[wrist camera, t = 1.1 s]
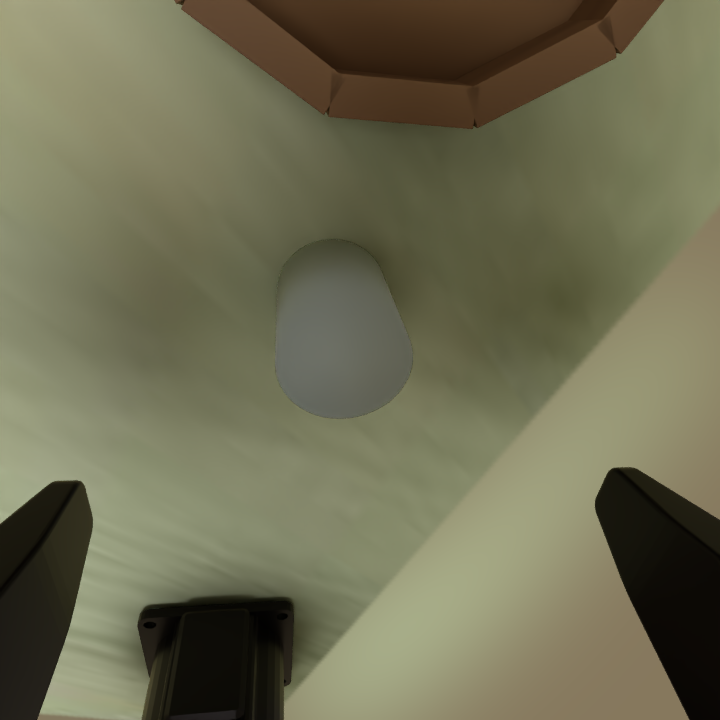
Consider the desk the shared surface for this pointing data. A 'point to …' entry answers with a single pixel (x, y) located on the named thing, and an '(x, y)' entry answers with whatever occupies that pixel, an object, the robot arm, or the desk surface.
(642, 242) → the desk surface
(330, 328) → the bead loose
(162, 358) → the desk surface
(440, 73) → the walnut tray
